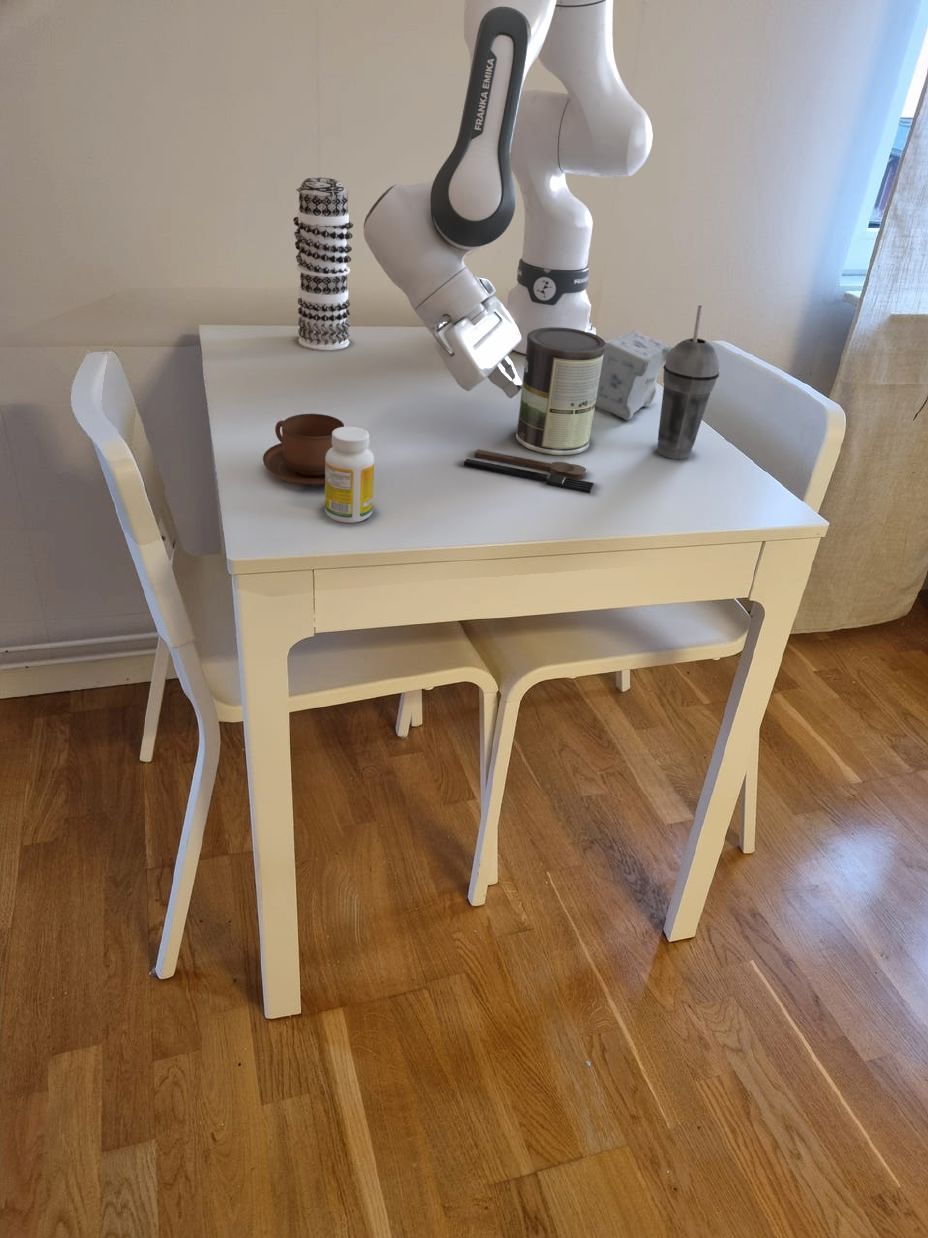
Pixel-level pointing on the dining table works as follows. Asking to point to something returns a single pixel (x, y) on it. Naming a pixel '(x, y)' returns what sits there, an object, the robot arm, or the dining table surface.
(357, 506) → the supplement bottle
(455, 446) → the dining table surface
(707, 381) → the beverage cup
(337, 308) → the decorative candle
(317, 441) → the cup and saucer
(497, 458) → the spoon
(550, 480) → the fork
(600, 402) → the incense holder
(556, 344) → the coffee can
